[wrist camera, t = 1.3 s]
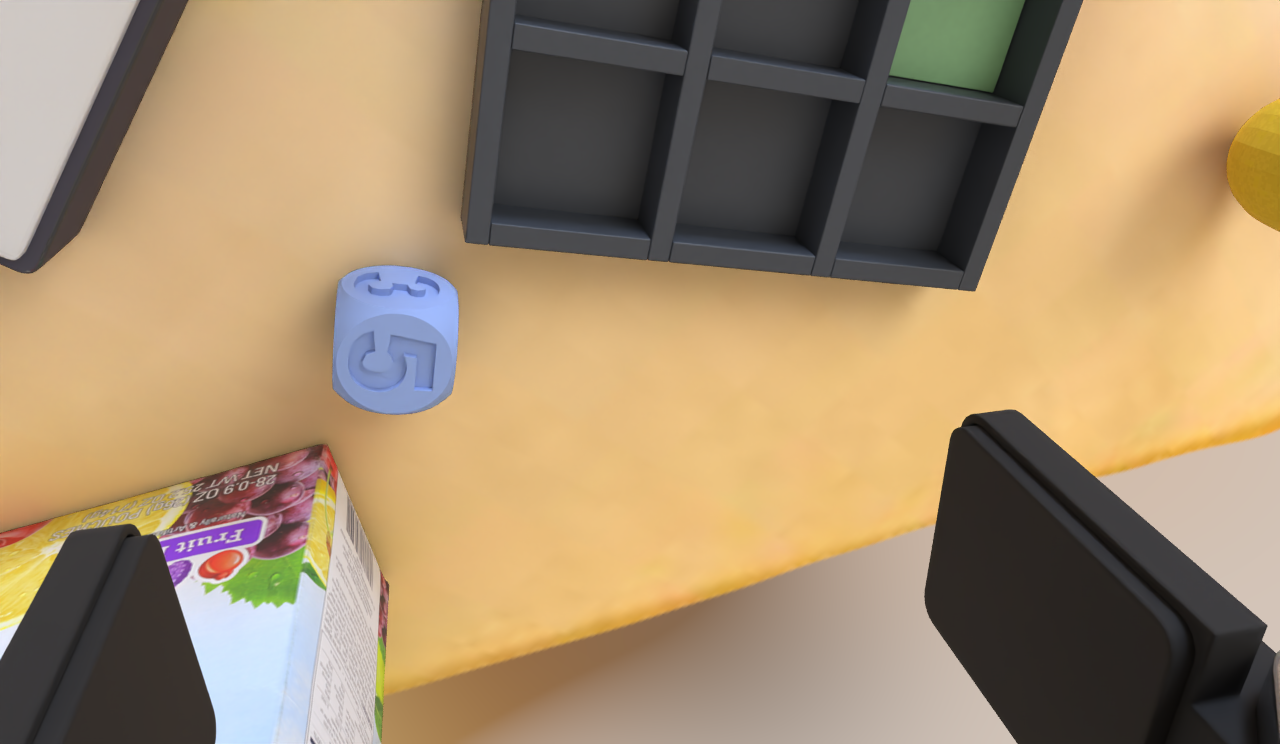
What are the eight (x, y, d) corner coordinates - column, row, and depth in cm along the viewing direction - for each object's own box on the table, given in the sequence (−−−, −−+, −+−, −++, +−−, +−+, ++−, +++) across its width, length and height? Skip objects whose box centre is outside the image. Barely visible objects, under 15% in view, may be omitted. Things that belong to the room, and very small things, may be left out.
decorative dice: (446, 365, 36) (450, 418, 32) (337, 359, 35) (330, 413, 31) (455, 269, 34) (461, 315, 30) (341, 260, 33) (334, 306, 29)
